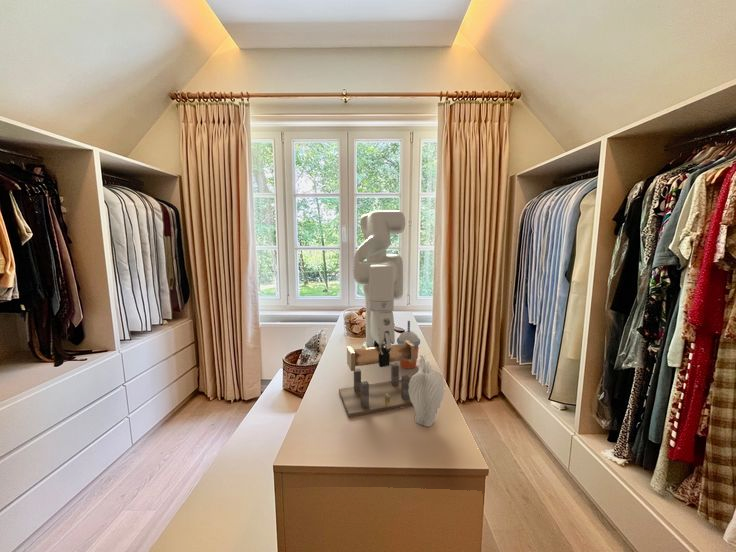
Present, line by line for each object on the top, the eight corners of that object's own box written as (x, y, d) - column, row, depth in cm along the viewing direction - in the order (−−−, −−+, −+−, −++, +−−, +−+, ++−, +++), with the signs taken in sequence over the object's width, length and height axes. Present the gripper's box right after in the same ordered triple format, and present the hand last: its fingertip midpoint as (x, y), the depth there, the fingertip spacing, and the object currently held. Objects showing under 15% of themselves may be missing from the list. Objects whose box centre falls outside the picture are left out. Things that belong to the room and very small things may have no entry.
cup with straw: (419, 371, 111) (420, 325, 109) (395, 369, 113) (395, 323, 111) (420, 361, 120) (421, 318, 118) (397, 359, 122) (398, 317, 119)
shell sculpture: (436, 435, 76) (438, 369, 73) (406, 425, 80) (407, 362, 77) (444, 418, 83) (447, 357, 81) (416, 409, 87) (418, 351, 85)
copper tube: (351, 371, 86) (351, 353, 86) (347, 363, 91) (346, 346, 91) (414, 362, 92) (414, 345, 91) (407, 355, 97) (407, 339, 96)
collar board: (339, 392, 97) (338, 368, 96) (406, 381, 104) (407, 359, 102) (348, 417, 83) (348, 390, 82) (425, 403, 90) (426, 378, 89)
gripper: (404, 310, 82) (403, 372, 85) (383, 298, 98) (383, 350, 101) (378, 312, 80) (378, 376, 83) (361, 300, 96) (361, 353, 99)
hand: (380, 361), depth 92 cm, fingers closed on copper tube, 5 cm apart
